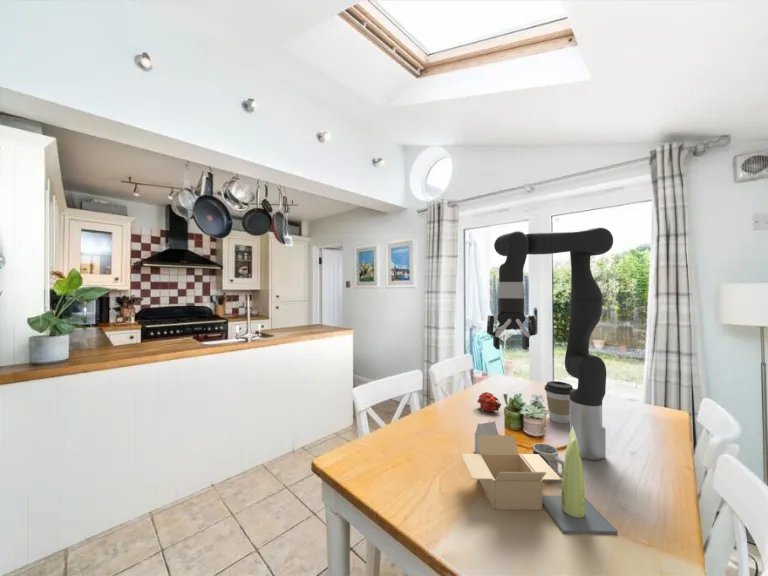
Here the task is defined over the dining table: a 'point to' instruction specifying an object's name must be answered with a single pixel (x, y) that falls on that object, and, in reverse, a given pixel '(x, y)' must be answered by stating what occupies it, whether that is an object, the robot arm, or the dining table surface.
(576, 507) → the light green tall cone
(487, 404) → the dragon fruit
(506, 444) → the carton
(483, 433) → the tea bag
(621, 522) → the dining table surface
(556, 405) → the coffee cup
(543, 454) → the mug
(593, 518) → the mat
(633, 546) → the dining table surface
